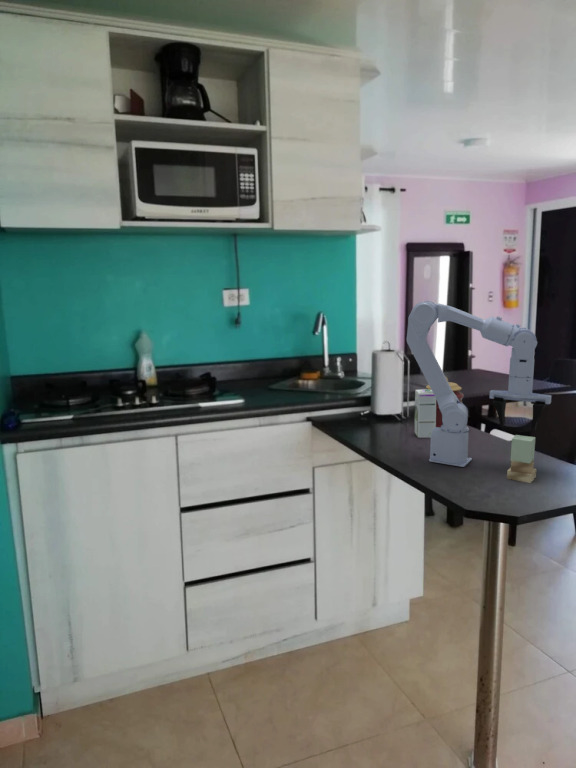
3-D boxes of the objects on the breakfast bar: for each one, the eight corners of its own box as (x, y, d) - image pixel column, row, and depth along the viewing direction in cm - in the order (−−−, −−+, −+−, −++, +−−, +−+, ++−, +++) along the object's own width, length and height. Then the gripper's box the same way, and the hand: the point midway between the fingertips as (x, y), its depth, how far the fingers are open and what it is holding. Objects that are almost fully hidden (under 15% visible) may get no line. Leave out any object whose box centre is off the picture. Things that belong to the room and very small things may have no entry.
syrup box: (435, 437, 176) (437, 392, 173) (416, 437, 176) (418, 392, 173) (431, 433, 181) (433, 389, 179) (413, 433, 181) (414, 389, 179)
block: (510, 460, 137) (511, 438, 136) (514, 456, 141) (516, 434, 140) (530, 463, 135) (531, 441, 134) (533, 458, 139) (535, 437, 138)
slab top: (510, 471, 137) (511, 461, 137) (511, 465, 142) (511, 456, 141) (532, 474, 135) (533, 464, 135) (532, 468, 140) (533, 458, 139)
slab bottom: (506, 480, 138) (507, 470, 138) (512, 474, 142) (513, 464, 142) (530, 484, 135) (531, 474, 134) (535, 478, 139) (536, 468, 139)
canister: (414, 429, 187) (415, 376, 184) (434, 422, 196) (436, 372, 193) (449, 436, 177) (452, 381, 174) (469, 429, 186) (472, 376, 183)
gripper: (487, 376, 143) (484, 427, 146) (549, 380, 136) (545, 435, 138) (494, 372, 149) (491, 422, 152) (554, 376, 141) (550, 429, 144)
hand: (517, 428), depth 145 cm, fingers open, 7 cm apart
